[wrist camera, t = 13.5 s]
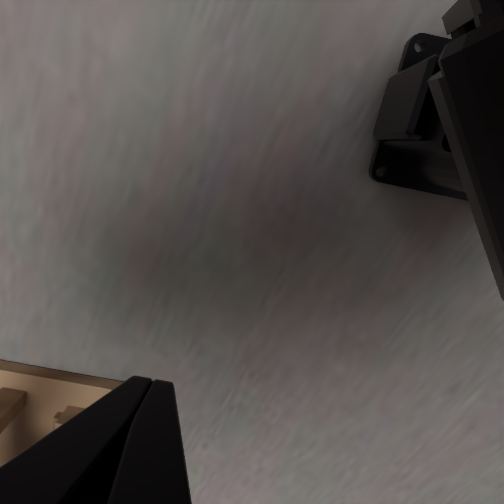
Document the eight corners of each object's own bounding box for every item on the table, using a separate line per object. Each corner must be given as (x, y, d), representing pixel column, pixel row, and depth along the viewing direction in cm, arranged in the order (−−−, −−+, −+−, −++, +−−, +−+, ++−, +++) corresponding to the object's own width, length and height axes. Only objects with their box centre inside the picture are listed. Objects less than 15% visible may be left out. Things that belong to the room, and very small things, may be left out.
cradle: (163, 389, 22) (137, 456, 17) (145, 506, 25) (119, 591, 20) (-89, 344, 21) (-189, 401, 16) (-76, 469, 24) (-158, 548, 19)
